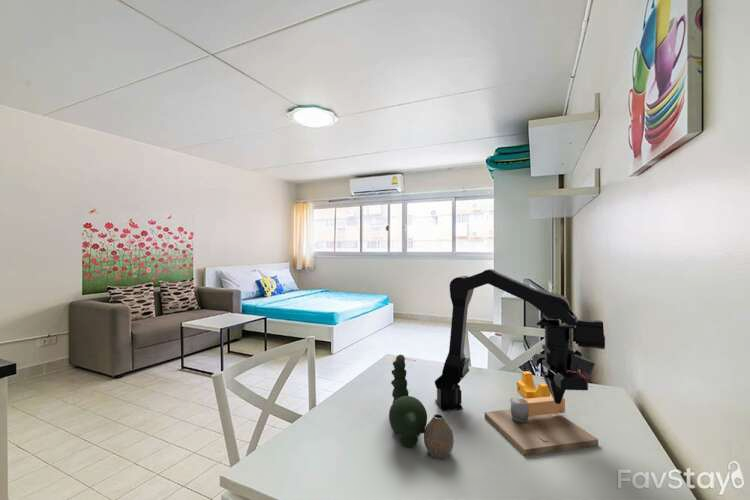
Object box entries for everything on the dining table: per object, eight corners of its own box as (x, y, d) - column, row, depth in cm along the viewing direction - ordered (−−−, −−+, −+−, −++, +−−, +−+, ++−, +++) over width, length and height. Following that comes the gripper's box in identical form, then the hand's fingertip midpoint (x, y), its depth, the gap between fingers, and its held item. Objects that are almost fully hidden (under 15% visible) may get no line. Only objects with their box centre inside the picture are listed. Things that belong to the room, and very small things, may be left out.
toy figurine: (383, 416, 99) (392, 461, 75) (382, 351, 101) (391, 374, 76) (415, 415, 100) (434, 460, 75) (413, 350, 102) (432, 373, 77)
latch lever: (517, 419, 88) (517, 406, 88) (507, 411, 92) (507, 398, 92) (569, 413, 91) (569, 400, 91) (557, 406, 95) (557, 393, 95)
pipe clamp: (516, 390, 113) (516, 371, 113) (529, 390, 113) (529, 371, 113) (536, 407, 101) (536, 386, 101) (550, 407, 101) (550, 385, 101)
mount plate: (524, 455, 77) (524, 444, 77) (484, 417, 95) (484, 407, 95) (598, 445, 81) (598, 434, 81) (546, 410, 99) (546, 401, 99)
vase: (455, 447, 81) (455, 411, 81) (452, 465, 74) (451, 426, 74) (426, 442, 83) (426, 407, 83) (421, 459, 76) (421, 421, 76)
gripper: (611, 355, 77) (612, 422, 77) (571, 334, 96) (571, 389, 96) (561, 354, 78) (562, 421, 78) (531, 334, 97) (531, 388, 97)
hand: (557, 403), depth 87 cm, fingers closed
